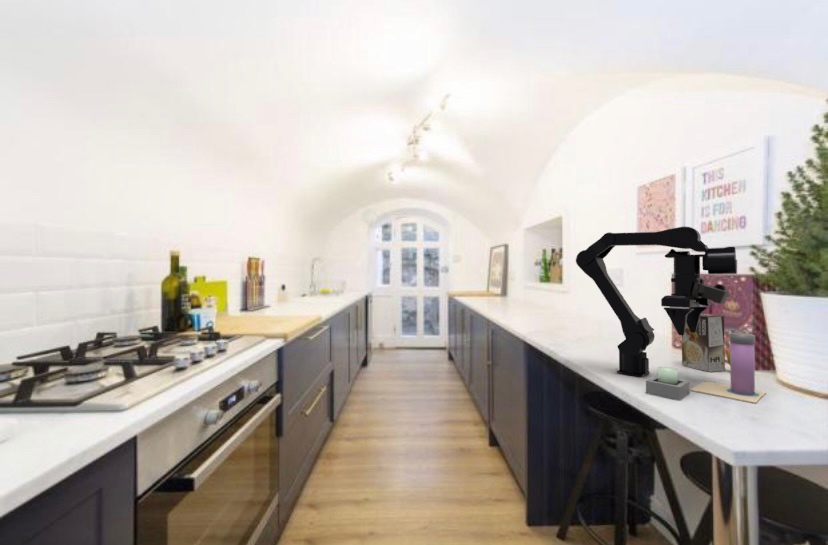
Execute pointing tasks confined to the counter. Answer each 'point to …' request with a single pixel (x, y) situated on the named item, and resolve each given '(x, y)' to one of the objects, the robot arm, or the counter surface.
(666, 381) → the button
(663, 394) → the button housing
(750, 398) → the beige coaster
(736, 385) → the purple canister
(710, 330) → the coffee box
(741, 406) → the counter surface
